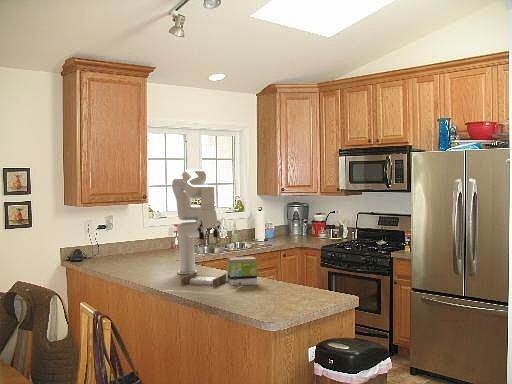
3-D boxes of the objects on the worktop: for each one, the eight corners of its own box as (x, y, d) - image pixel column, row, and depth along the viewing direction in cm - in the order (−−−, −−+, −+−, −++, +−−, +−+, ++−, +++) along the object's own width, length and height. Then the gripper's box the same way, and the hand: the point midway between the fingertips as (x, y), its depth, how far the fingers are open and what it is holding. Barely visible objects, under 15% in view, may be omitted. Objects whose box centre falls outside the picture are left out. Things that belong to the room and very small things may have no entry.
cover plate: (197, 280, 313) (197, 276, 313) (219, 281, 308) (219, 277, 308) (189, 284, 303) (189, 279, 303) (212, 285, 299) (212, 280, 299)
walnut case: (194, 280, 316) (194, 272, 316) (226, 282, 310) (226, 273, 310) (181, 286, 300) (181, 277, 300) (214, 288, 294) (214, 279, 294)
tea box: (231, 286, 299) (230, 259, 298) (227, 283, 308) (226, 257, 308) (257, 284, 303) (257, 258, 302) (252, 281, 312) (252, 255, 312)
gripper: (215, 206, 312) (216, 236, 313) (191, 208, 301) (192, 239, 301) (224, 207, 307) (224, 237, 307) (199, 209, 295) (200, 240, 296)
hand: (208, 238), depth 304 cm, fingers open, 9 cm apart
